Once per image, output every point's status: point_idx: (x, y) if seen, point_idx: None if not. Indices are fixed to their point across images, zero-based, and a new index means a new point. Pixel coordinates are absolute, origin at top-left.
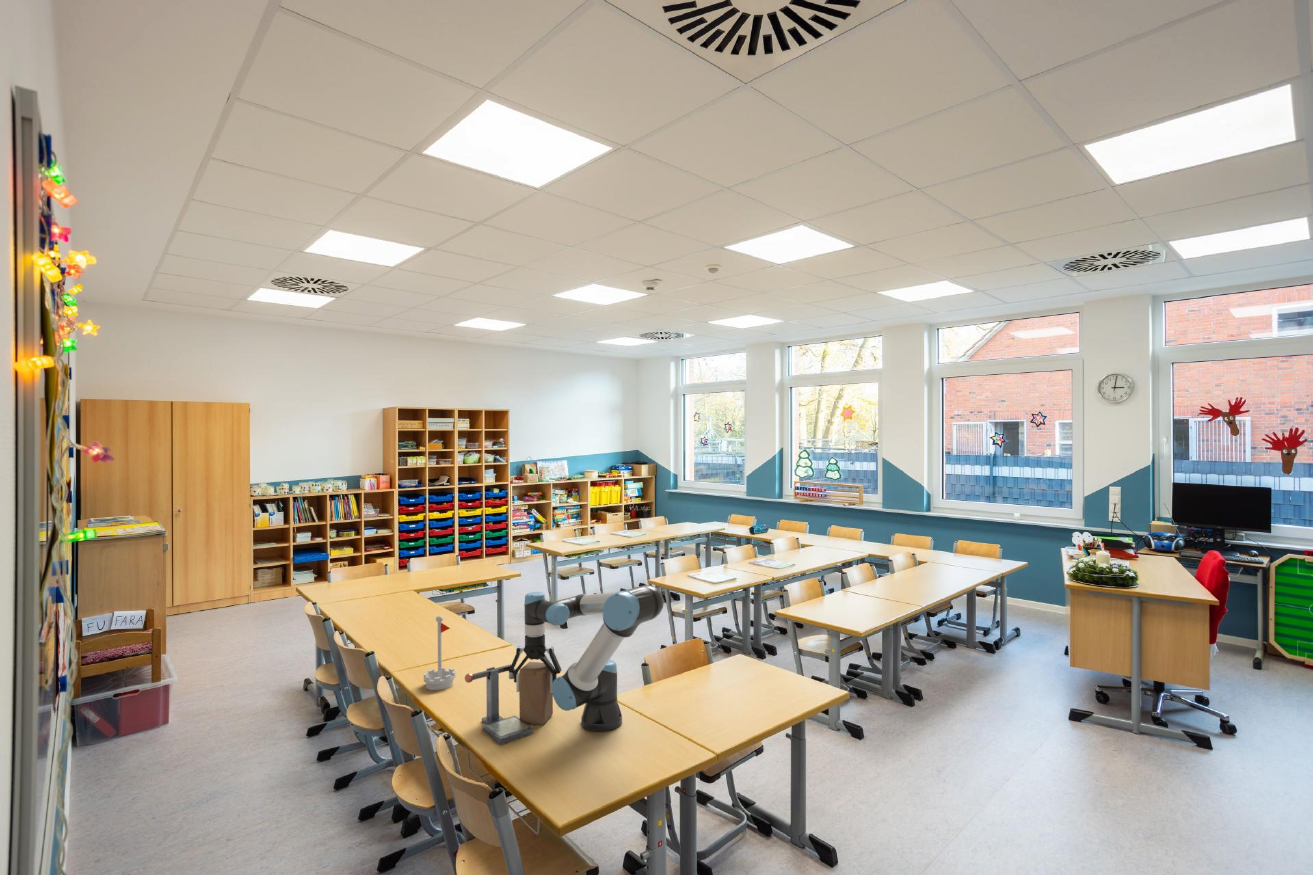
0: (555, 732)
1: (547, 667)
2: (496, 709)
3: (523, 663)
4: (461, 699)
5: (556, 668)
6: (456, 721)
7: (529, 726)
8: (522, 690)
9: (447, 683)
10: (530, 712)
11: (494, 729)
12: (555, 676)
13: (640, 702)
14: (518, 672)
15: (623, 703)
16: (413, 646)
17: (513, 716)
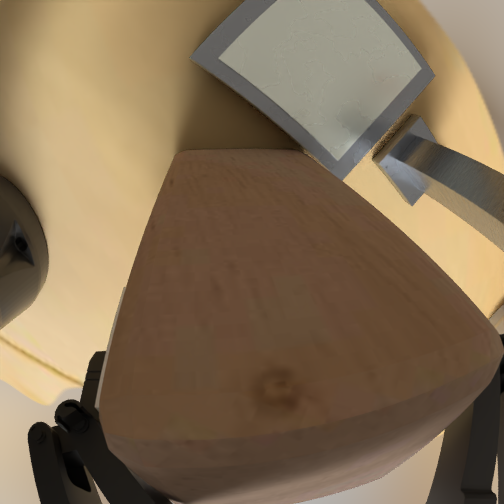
0: (91, 101)
1: (144, 493)
2: (430, 164)
3: (473, 450)
4: (480, 283)
5: (49, 470)
6: (491, 155)
7: (219, 69)
8: (364, 214)
9: (495, 323)
10: (253, 160)
11: (380, 27)
12: (81, 402)
13: (9, 364)
14: None
15: (32, 359)
16: None
17: (343, 170)
